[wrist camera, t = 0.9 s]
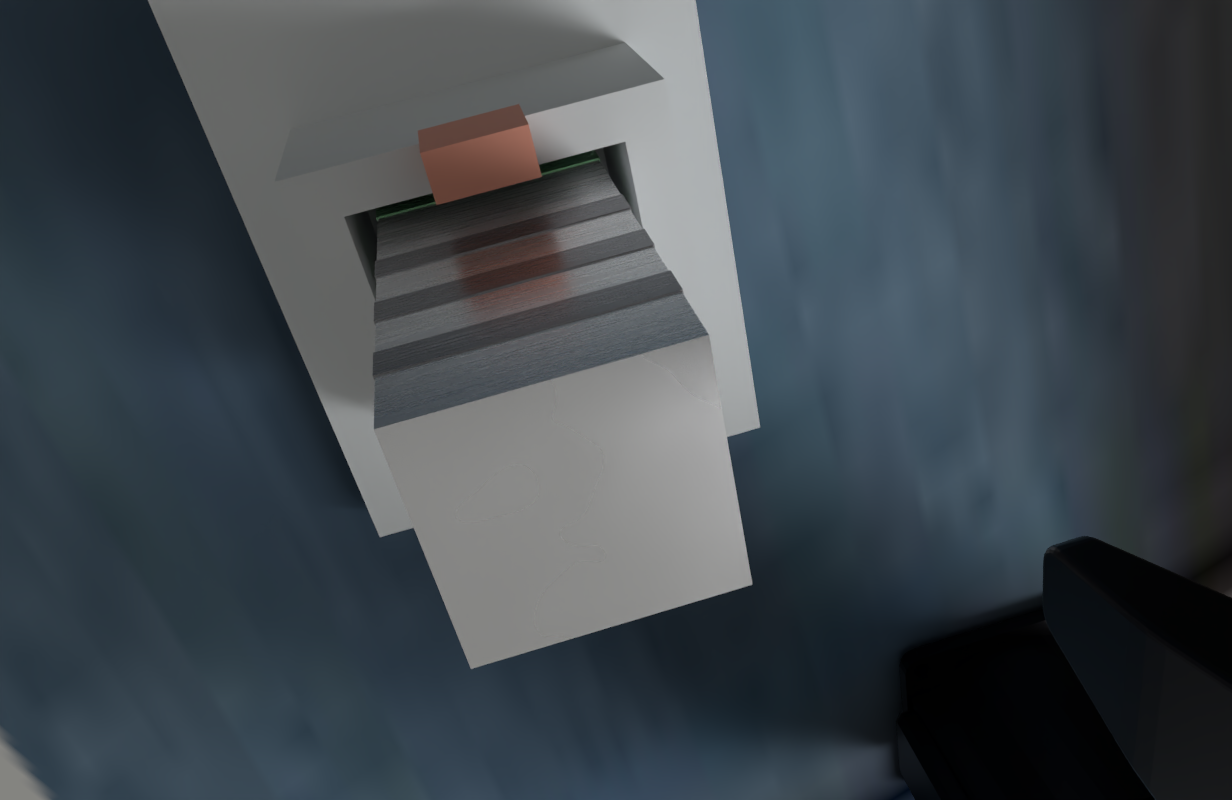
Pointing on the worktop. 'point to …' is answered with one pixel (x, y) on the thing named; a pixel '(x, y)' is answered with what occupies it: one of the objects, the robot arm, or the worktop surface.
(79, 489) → the worktop surface
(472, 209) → the column
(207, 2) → the stand base
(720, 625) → the worktop surface
